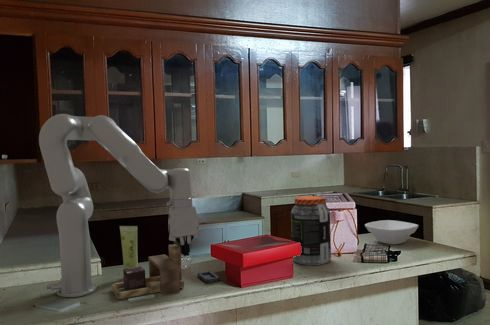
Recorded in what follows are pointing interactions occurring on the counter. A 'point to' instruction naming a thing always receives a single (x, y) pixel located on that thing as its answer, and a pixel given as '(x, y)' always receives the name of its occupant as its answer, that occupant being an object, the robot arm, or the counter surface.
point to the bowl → (391, 231)
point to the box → (134, 278)
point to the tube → (129, 246)
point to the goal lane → (141, 298)
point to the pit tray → (208, 277)
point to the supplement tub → (311, 229)
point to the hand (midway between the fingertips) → (185, 255)
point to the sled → (151, 278)
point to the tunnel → (165, 273)
